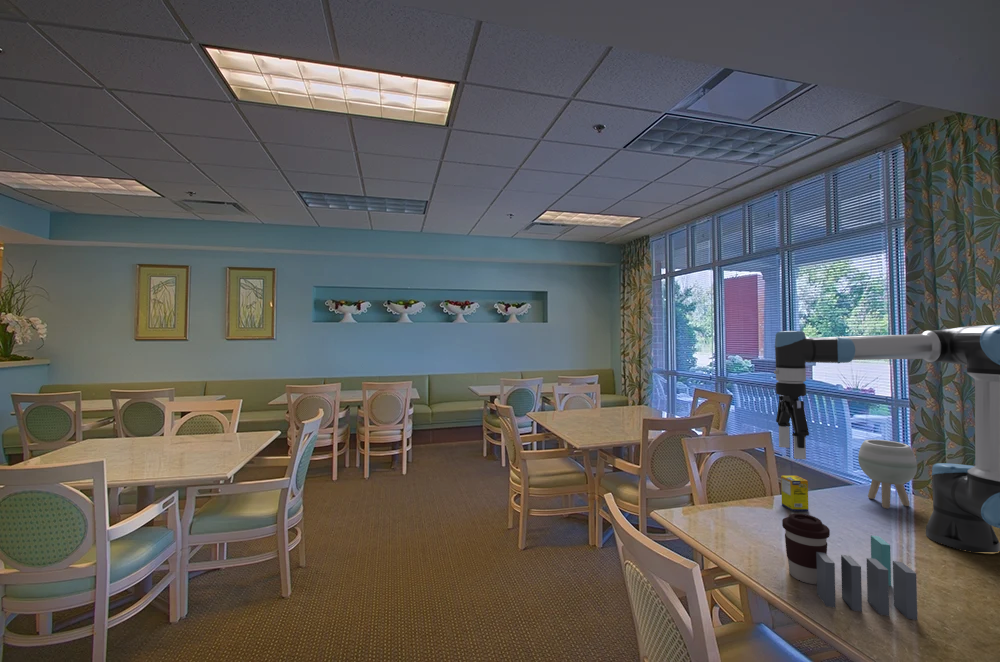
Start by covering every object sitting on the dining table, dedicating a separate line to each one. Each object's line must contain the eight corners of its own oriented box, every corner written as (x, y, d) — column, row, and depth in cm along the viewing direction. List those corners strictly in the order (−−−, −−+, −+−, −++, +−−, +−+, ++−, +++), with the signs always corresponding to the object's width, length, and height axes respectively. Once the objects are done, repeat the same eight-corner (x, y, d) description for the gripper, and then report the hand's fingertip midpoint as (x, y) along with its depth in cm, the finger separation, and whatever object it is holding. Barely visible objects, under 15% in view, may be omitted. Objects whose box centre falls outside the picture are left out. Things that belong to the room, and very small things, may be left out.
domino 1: (825, 595, 102) (825, 552, 102) (835, 607, 97) (834, 563, 98) (817, 593, 103) (816, 551, 103) (826, 606, 98) (825, 562, 98)
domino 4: (876, 602, 99) (875, 558, 99) (889, 615, 94) (888, 570, 95) (867, 601, 100) (866, 557, 100) (879, 614, 95) (878, 568, 95)
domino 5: (903, 606, 98) (902, 562, 98) (917, 620, 93) (916, 573, 93) (893, 604, 98) (892, 560, 98) (907, 618, 93) (906, 572, 94)
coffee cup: (833, 592, 103) (831, 530, 103) (783, 580, 108) (782, 520, 109) (828, 573, 111) (827, 515, 112) (782, 563, 117) (781, 507, 117)
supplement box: (809, 511, 152) (808, 480, 152) (792, 511, 152) (791, 480, 152) (797, 505, 157) (797, 475, 158) (781, 505, 158) (780, 475, 158)
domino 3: (879, 575, 111) (879, 536, 111) (891, 586, 106) (890, 545, 106) (871, 574, 111) (870, 535, 111) (882, 584, 106) (881, 544, 106)
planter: (885, 513, 150) (884, 448, 150) (848, 496, 166) (846, 438, 166) (931, 512, 150) (929, 448, 150) (889, 496, 166) (887, 438, 167)
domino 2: (851, 598, 101) (850, 555, 101) (862, 611, 96) (861, 566, 96) (841, 597, 101) (841, 554, 101) (852, 610, 96) (851, 565, 97)
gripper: (764, 378, 142) (765, 442, 142) (790, 386, 118) (791, 463, 118) (790, 378, 140) (791, 444, 139) (822, 386, 116) (823, 465, 116)
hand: (791, 452), depth 129 cm, fingers open, 13 cm apart
